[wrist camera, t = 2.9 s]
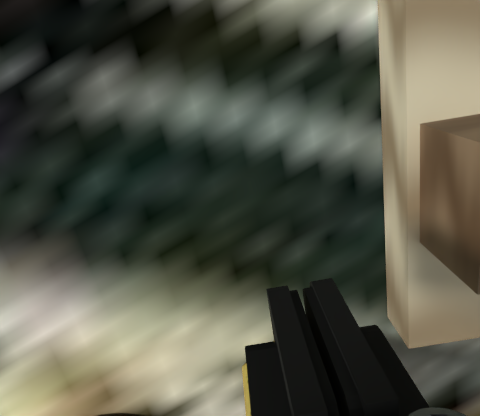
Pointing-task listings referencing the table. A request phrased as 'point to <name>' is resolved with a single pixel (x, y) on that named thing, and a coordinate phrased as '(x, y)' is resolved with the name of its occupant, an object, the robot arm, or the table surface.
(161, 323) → the table surface
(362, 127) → the table surface
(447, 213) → the block
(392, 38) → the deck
